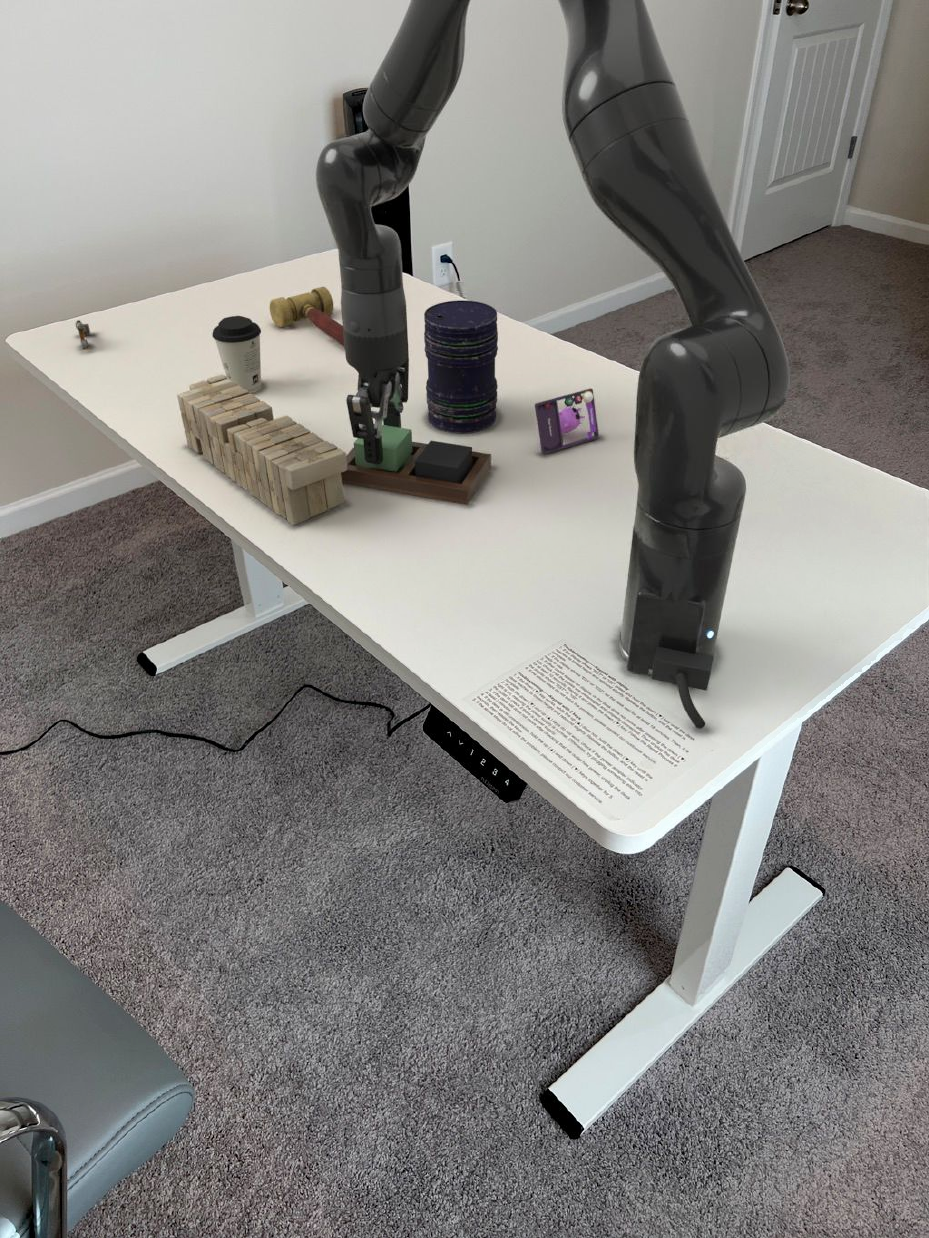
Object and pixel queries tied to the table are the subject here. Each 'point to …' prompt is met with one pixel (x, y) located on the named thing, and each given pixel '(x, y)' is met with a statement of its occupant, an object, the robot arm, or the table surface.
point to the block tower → (262, 449)
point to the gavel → (308, 311)
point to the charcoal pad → (444, 462)
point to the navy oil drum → (461, 365)
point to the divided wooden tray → (418, 478)
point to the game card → (564, 420)
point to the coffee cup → (240, 351)
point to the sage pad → (388, 448)
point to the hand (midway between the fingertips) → (384, 450)
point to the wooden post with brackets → (83, 333)
